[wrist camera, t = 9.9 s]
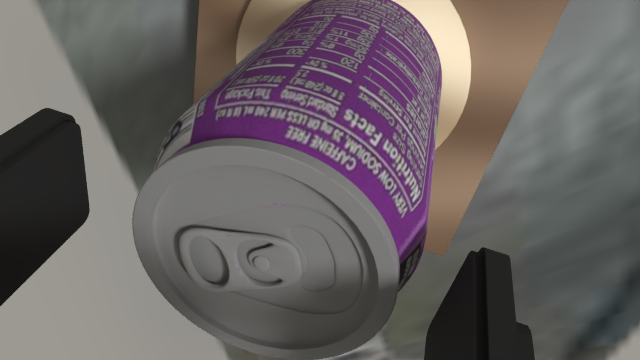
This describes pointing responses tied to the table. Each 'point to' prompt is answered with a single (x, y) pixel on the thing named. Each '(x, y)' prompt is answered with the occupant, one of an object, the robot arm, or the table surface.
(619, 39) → the table surface
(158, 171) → the beverage can
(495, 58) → the board
